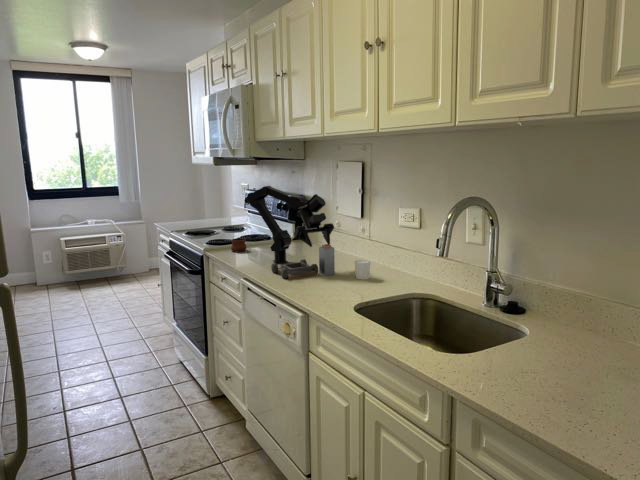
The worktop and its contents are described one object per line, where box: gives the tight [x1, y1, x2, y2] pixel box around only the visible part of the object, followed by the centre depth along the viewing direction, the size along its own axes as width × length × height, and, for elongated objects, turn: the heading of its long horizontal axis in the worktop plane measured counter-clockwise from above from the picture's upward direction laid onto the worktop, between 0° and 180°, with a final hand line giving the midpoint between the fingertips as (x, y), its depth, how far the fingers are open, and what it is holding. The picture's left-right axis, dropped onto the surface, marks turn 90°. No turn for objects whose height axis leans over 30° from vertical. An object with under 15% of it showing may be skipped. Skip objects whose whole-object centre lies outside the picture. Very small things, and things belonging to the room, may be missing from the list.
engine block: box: [318, 243, 336, 276], centre depth 207 cm, size 5×5×13 cm
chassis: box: [270, 258, 319, 280], centre depth 210 cm, size 16×16×4 cm
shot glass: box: [354, 259, 371, 280], centre depth 201 cm, size 7×7×7 cm
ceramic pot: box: [226, 237, 247, 253], centre depth 261 cm, size 18×18×7 cm
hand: (320, 245), depth 212 cm, fingers open, 9 cm apart
